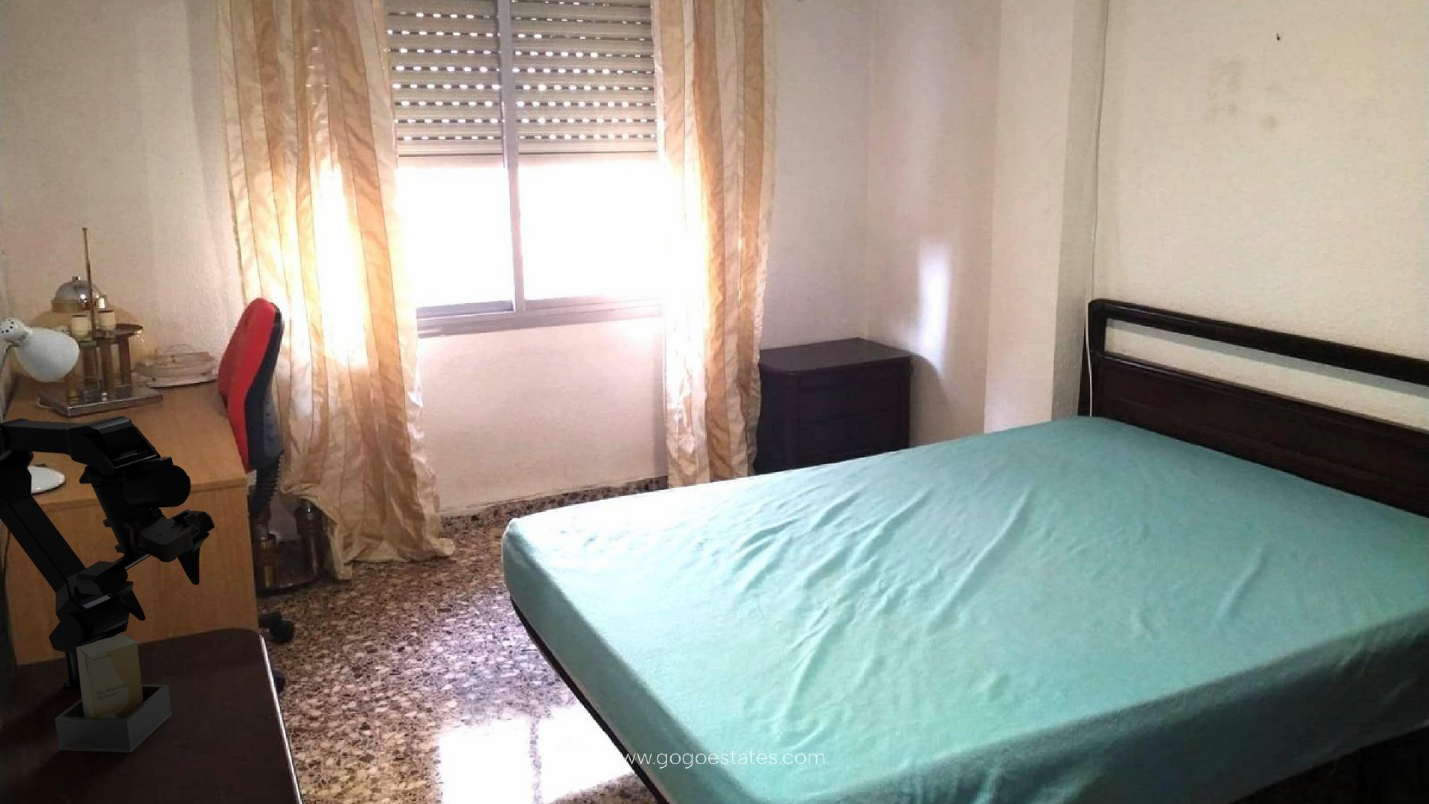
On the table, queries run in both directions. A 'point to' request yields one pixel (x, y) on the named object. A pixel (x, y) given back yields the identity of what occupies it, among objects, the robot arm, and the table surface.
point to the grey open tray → (114, 724)
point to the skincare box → (110, 677)
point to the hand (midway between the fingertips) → (170, 601)
